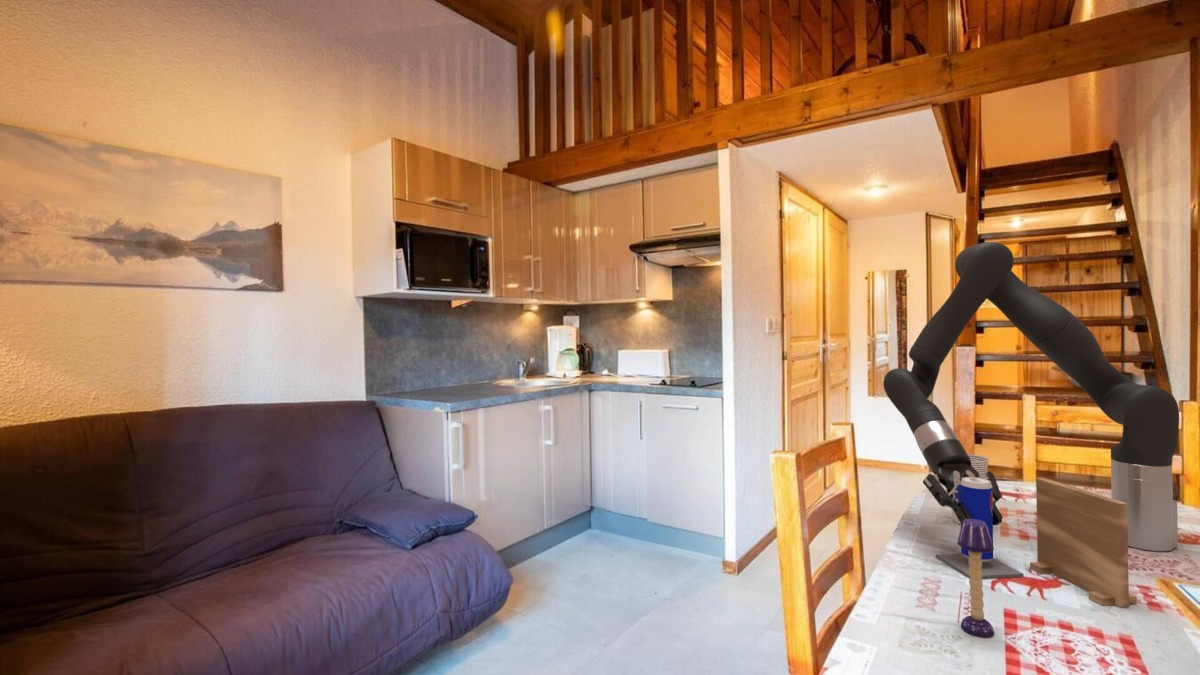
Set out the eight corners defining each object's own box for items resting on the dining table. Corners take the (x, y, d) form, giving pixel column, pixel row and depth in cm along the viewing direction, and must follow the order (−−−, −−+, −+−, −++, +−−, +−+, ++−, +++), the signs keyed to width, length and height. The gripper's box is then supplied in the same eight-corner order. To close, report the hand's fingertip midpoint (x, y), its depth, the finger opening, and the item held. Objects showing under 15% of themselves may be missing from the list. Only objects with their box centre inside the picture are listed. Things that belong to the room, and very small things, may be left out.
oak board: (1056, 565, 107) (1055, 477, 107) (1141, 606, 91) (1140, 502, 91) (1026, 566, 107) (1025, 478, 106) (1106, 608, 91) (1105, 504, 91)
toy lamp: (951, 622, 88) (949, 516, 87) (979, 620, 88) (977, 515, 88) (974, 639, 83) (972, 527, 83) (1004, 636, 83) (1002, 525, 83)
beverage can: (998, 563, 104) (997, 484, 104) (968, 562, 105) (967, 483, 105) (985, 552, 109) (984, 476, 109) (956, 551, 110) (955, 476, 110)
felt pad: (983, 555, 112) (983, 552, 112) (1023, 576, 102) (1023, 573, 102) (935, 557, 112) (935, 554, 112) (971, 579, 102) (971, 576, 102)
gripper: (915, 438, 114) (956, 516, 102) (982, 436, 115) (1031, 513, 103) (900, 458, 119) (938, 534, 108) (964, 455, 120) (1009, 531, 108)
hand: (983, 523), depth 105 cm, fingers closed on beverage can, 5 cm apart
